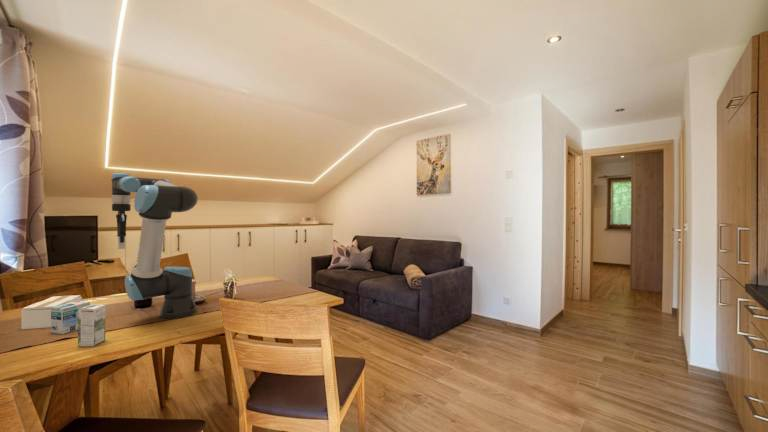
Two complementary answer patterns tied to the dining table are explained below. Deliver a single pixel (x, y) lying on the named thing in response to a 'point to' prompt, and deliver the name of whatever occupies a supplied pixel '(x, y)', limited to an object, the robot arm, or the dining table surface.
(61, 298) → the flap
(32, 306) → the carton
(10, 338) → the dining table surface
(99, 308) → the syrup box
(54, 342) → the dining table surface
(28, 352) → the dining table surface
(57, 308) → the light bulb box
